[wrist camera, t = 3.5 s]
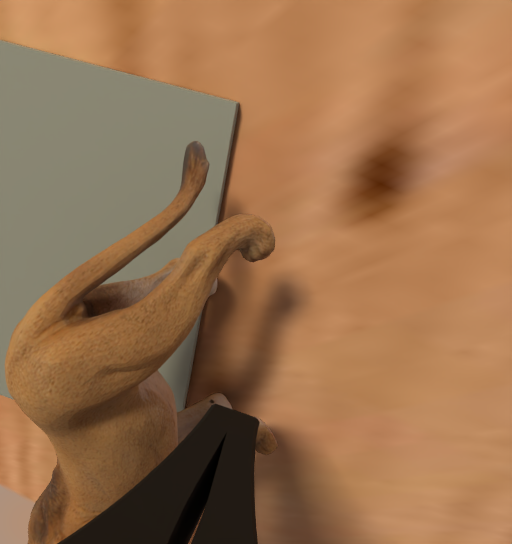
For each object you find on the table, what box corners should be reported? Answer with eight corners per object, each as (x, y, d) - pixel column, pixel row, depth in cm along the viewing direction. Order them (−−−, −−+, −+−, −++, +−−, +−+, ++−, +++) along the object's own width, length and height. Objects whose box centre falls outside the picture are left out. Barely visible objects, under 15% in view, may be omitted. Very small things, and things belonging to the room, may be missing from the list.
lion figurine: (311, 546, 16) (68, 782, 11) (228, 463, 20) (21, 612, 15) (273, 139, 10) (-279, 267, 5) (165, 134, 14) (-209, 206, 9)
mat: (239, 102, 13) (236, 103, 13) (176, 454, 21) (173, 459, 20) (-104, 12, 14) (-113, 12, 14) (-43, 372, 22) (-48, 376, 22)
